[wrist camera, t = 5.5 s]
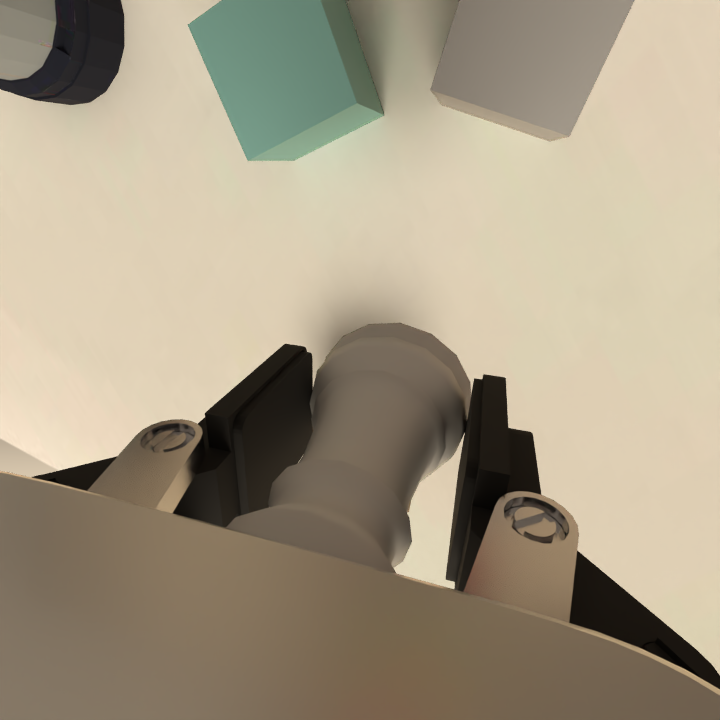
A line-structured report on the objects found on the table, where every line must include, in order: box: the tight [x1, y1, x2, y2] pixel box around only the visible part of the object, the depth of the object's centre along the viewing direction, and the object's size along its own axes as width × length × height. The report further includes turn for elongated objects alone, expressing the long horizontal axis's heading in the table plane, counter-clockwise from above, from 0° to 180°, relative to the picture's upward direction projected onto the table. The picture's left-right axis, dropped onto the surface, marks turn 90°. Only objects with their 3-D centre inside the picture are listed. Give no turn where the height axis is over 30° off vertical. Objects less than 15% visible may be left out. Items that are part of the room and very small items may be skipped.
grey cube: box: [431, 0, 634, 141], centre depth 16 cm, size 5×5×5 cm
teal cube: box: [188, 0, 384, 161], centre depth 18 cm, size 5×5×5 cm
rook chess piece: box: [226, 323, 471, 573], centre depth 9 cm, size 4×4×8 cm
